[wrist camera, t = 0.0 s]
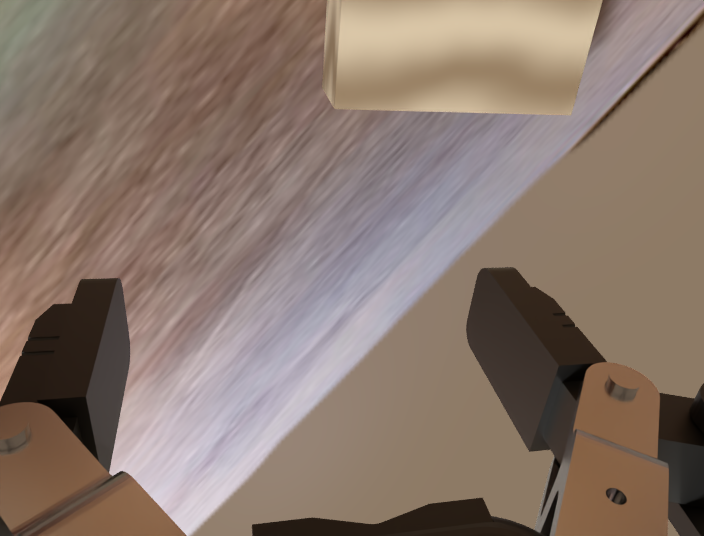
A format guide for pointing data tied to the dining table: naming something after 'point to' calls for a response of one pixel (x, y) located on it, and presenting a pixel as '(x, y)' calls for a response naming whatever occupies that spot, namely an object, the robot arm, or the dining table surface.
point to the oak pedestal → (457, 54)
